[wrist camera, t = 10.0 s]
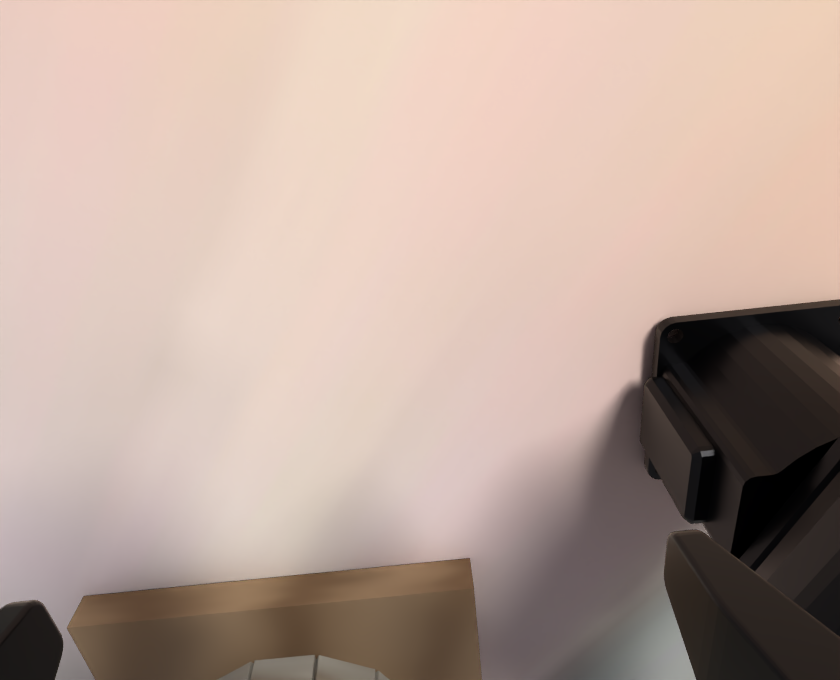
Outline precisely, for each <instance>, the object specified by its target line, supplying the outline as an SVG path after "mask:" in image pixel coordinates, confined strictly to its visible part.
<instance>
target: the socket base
mask: <svg viewBox="0 0 840 680" xmlns="http://www.w3.org/2000/svg"><path fill="white" fill-rule="evenodd" d="M67 629H68V631H69V633H70V635H71V636H72V638H73V640H74V642H75V644H76V645H77V647H78V649H79V651H80V653H81V654H82V656H83V658H84V660H85V662H86V664H87V665H88V667H89V669H90V671H91V673H92V674H93V676H94V678H95V680H482V676H481V664H480V653H479V642H478V630H477V619H476V608H475V596H474V586H473V578H472V571H471V563H470V558H468V559H458V560H448V561H438V562H427V563H417V564H407V565H397V566H387V567H376V568H366V569H356V570H346V571H336V572H325V573H315V574H305V575H295V576H285V577H275V578H264V579H254V580H244V581H234V582H224V583H213V584H203V585H193V586H183V587H173V588H162V589H152V590H142V591H132V592H122V593H112V594H101V595H91V596H84V597H83V599H82V600H81V602H80V604H79V606H78V608H77V610H76V612H75V614H74V616H73V617H72V619H71V621H70V623H69V625H68V627H67Z"/></svg>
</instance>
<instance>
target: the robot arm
mask: <svg viewBox="0 0 840 680" xmlns="http://www.w3.org/2000/svg"><path fill="white" fill-rule="evenodd" d="M839 317H840V299H839V300H829V301H820V302H810V303H801V304H791V305H782V306H772V307H763V308H753V309H744V310H734V311H725V312H715V313H706V314H696V315H687V316H677V317H670V318H667V319H665V320H663V321H662V322H661V323H660V324H659V325H658V326H657V329H656V332H655V344H654V356H653V367H652V377H651V378H649V379H648V380H647V382H646V383H645V384H644V394H643V406H642V419H641V431H640V442H641V444H642V446H643V447H644V449H645V461H644V464H645V468H646V470H647V472H648V474H649V475H650V476H651V477H652V478H654V479H661V480H662V481H663V483H664V485H665V487H666V489H667V490H668V492H669V494H670V496H671V497H672V499H673V501H674V503H675V505H676V506H677V508H678V510H679V512H680V514H681V515H682V517H683V518H684V519H685V520H687V521H688V522H689V523H690V524H694V523H703V525H704V527H705V528H706V530H707V532H708V533H709V535H710V537H711V538H710V537H709V536H708V535H706V534H705V533H703V532H702V531H699V530H685V531H676V532H672V533H670V534H669V536H668V539H667V547H666V557H665V567H664V580H665V586H666V589H667V593H668V596H669V599H670V602H671V605H672V608H673V611H674V614H675V617H676V620H677V623H678V626H679V629H680V632H681V635H682V638H683V641H684V644H685V647H686V650H687V653H688V656H689V659H690V662H691V665H692V668H693V671H694V674H695V677H696V680H840V319H839ZM838 319H839V320H838ZM675 329H679V330H678V333H677V334H676V335H675V336H673V337H668V334H669V333H670V332H671V331H672V330H675ZM62 652H63V639H62V635H61V633H60V631H59V630H58V628H57V626H56V624H55V623H54V621H53V619H52V618H51V616H50V614H49V612H48V611H47V609H46V607H45V606H44V604H43V603H41V602H40V601H38V600H29V601H20V602H13V603H9V604H7V605H5V606H4V607H2V608H1V609H0V680H55V677H56V674H57V670H58V667H59V663H60V660H61V656H62Z"/></svg>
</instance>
